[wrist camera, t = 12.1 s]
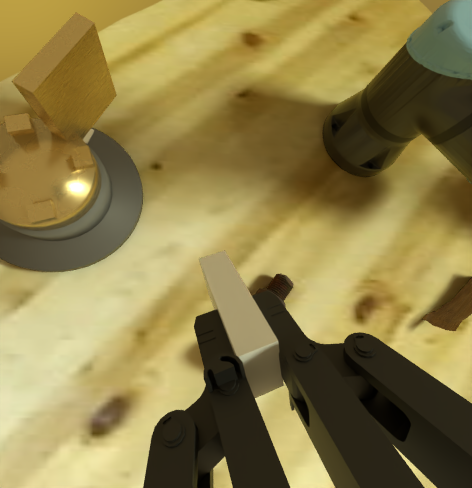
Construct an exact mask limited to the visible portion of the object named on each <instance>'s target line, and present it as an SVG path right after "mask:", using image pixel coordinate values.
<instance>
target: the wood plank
mask: <svg viewBox="0 0 472 488" xmlns="http://www.w3.org/2000/svg"><path fill="white" fill-rule="evenodd" d="M471 314H472V278H471V279H470V280H469V281H468V283H467V284H466V285H465V286H464V287H463V288H462V289H461V290H460V291H459V292H458V293H457V295H456V296H455V297H454V299H453V300H452V301H450V302H448V303H446V304H444V305H443V306H442V307H441V308H439V309H438V310H437V311H433V312H431V313H429V314H427V315H426V316H425V317H424V318H423V319H422V320H426V321H428V322H429V323H431V324H432V325H434V326H437V327H439V328H442V329H445V330H449V331H456V329H457V328H458V326H459V325H460V323H461V322H462V321H463V320H464V319H466V318H467V317H468V316H469V315H471Z"/></svg>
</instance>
